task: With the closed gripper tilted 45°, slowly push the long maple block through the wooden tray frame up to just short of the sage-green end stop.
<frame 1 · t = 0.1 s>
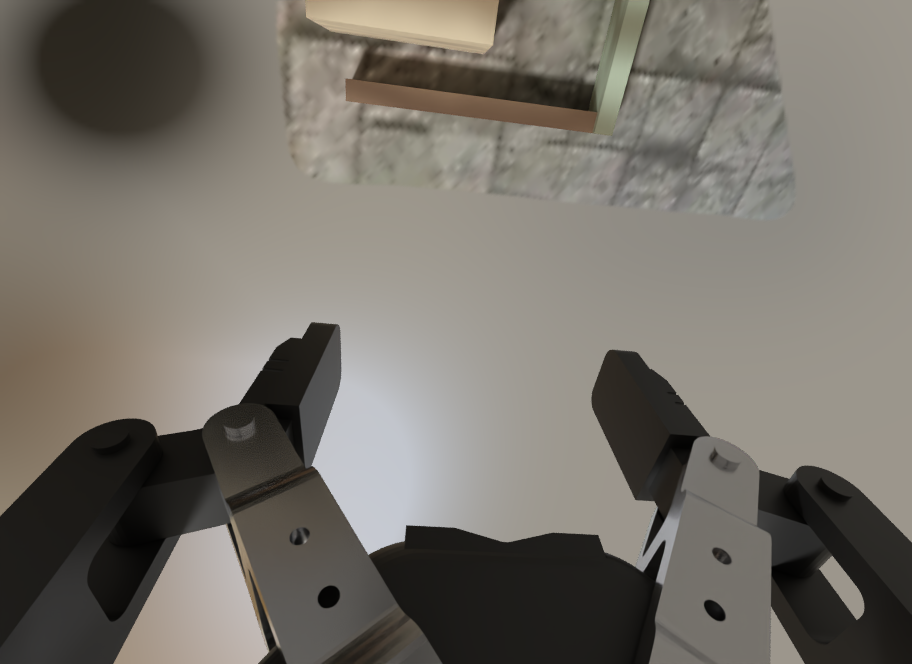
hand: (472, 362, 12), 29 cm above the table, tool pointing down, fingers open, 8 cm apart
wooden tray frame: (483, 5, 31), on the table
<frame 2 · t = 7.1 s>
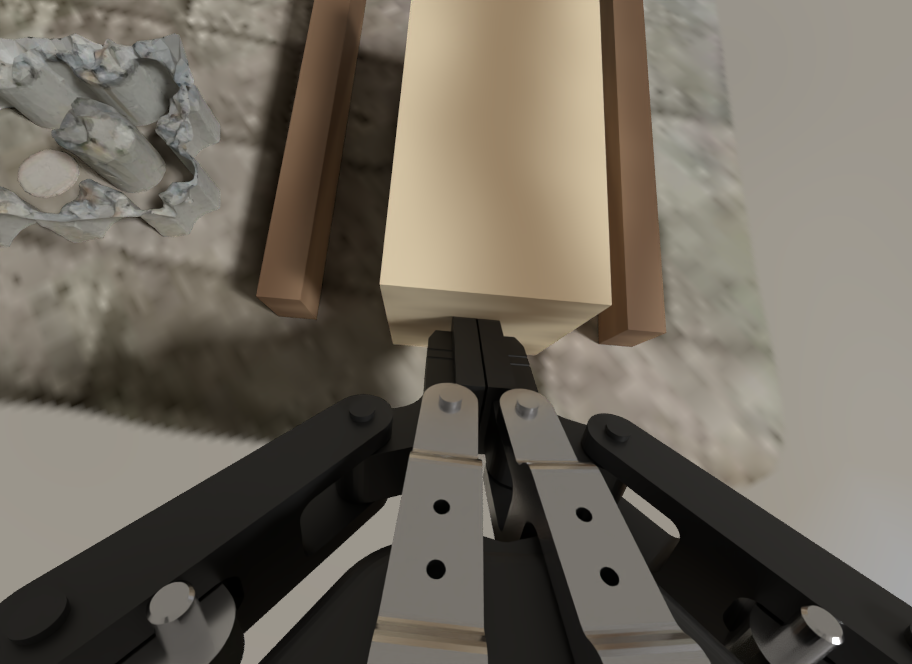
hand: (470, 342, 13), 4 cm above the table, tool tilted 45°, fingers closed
wooden tray frame: (473, 132, 20), on the table
egg carton: (101, 174, 18), on the table
maple block: (471, 222, 19), on the table, touching gripper
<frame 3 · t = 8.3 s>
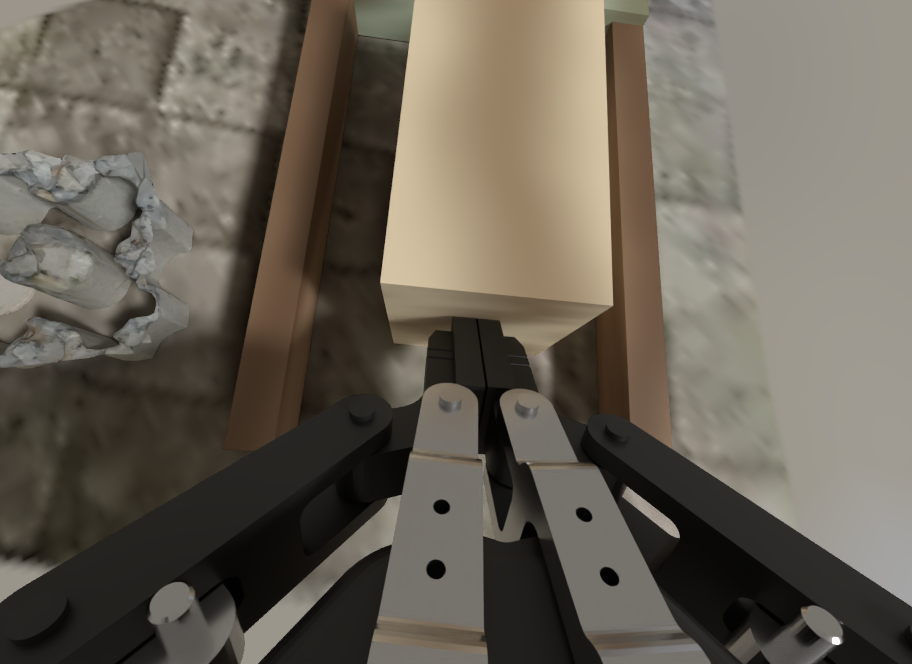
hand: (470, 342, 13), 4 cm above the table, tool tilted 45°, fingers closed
wooden tray frame: (466, 227, 18), on the table
egg carton: (61, 284, 16), on the table
maple block: (473, 221, 19), on the table, touching gripper
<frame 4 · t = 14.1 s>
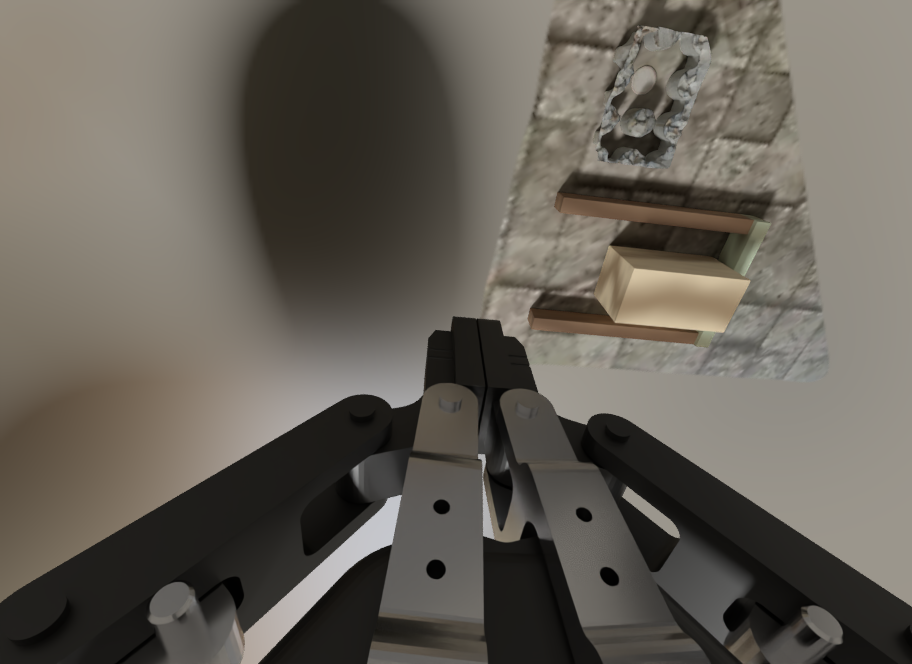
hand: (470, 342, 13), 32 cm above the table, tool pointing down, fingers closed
wooden tray frame: (626, 269, 46), on the table
egg carton: (637, 101, 38), on the table
maple block: (650, 275, 47), on the table
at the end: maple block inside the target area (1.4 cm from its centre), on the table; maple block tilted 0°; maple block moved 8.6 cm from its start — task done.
